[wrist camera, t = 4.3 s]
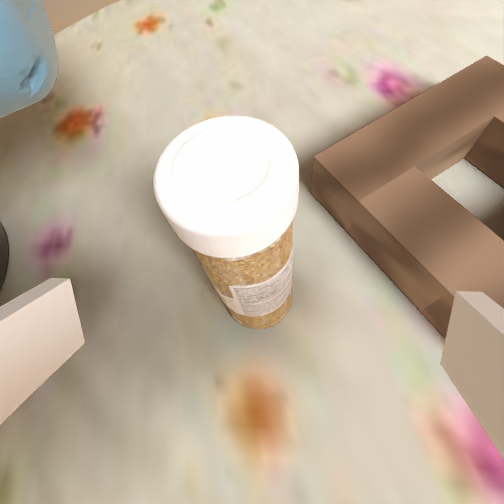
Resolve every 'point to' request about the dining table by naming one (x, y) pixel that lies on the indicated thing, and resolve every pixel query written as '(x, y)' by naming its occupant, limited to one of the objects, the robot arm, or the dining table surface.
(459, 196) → the dining table surface
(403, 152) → the frame
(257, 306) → the sprinkles bottle
